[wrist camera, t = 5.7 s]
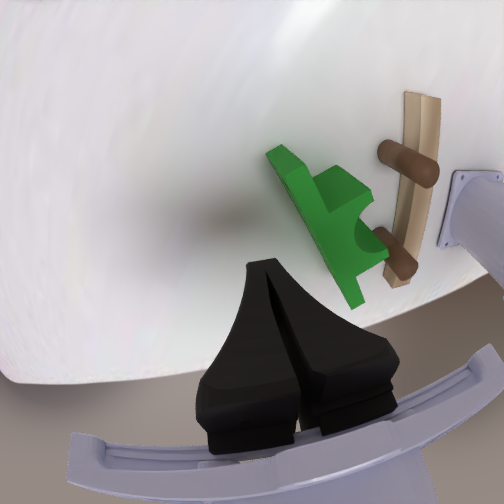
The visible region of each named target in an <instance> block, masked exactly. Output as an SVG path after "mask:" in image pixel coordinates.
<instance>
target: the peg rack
mask: <svg viewBox="0 0 504 504" xmlns="http://www.w3.org/2000/svg"><path fill="white" fill-rule="evenodd" d="M440 120H441V99H440V98H435V97H431V96H426V95H421V94H415V93H409V92H405V116H404V141H403V145H401V144H399V143H397V142H394V141H392V140H385V141H383V142H382V143H381V144H380V146H379V148H378V158H379V160H380V161H381V162H382V163H384V164H386V165H387V166H389V167H391V168H392V169H394V170H396V171H398V172H399V173H401V177H400V186H399V194H398V201H397V208H396V214H395V220H394V226H393V232H392V235H391V234H390V233H389V232H388V231H387V230H386V229H385V228H384V227H379V228H376V229H375V230H374V231H373V233H374V234H375V235H376V236H377V237H378V239H379V240H380V241H381V242H382V243H383V244H384V245H385V246H386V247H387V249H388V253H389V257H388V258H386V259H384V261H385V262H386V265H385V270H384V274H383V277H384V278H385V279H386V281H387V282H388V284H389V285H390V286H391V288H392V289H393V288H397V287H400V286H403V285H407V284H409V283H410V280H411V277H412V276H413V275H414V274H415V273H416V271H417V269H418V262H417V257H418V254H419V250H420V246H421V243H422V239H423V235H424V231H425V226H426V222H427V217H428V213H429V208H430V203H431V197H432V192H433V186H434V185H435V183H436V182H437V180H438V178H439V173H440V169H439V165H438V163H437V157H438V147H439V136H440Z"/></svg>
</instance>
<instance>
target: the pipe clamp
mask: <svg viewBox="0 0 504 504" xmlns="http://www.w3.org/2000/svg"><path fill="white" fill-rule="evenodd" d="M266 155H267V157H268V158H269V160H270V162H271V164H272V165H273V167H274V169H275V170H276V172H277V174H278V176H279V177H280V179H281V181H282V182H283V184H284V186H285V188H286V189H287V191H288V193H289V195H290V197H291V198H292V200H293V202H294V204H295V206H296V207H297V209H298V211H299V213H300V215H301V217H302V218H303V220H304V222H305V224H306V226H307V228H308V230H309V232H310V233H311V235H312V237H313V239H314V241H315V243H316V245H317V247H318V249H319V251H320V253H321V255H322V257H323V259H324V261H325V263H326V265H327V267H328V269H329V271H330V273H331V274H332V276H333V278H334V280H335V281H336V283H337V285H338V287H339V288H340V290H341V292H342V294H343V296H344V297H345V299H346V301H347V303H348V305H349V306H350V308H351V310H353V309H354V308H356V307H358V306H360V305H361V304H363V303H365V301H364V298H363V295H362V292H361V290H360V287H359V284H358V282H357V279H356V276H358V275H359V274H361V273H363V272H365V271H366V270H368V269H370V268H371V267H373V266H375V265H376V264H378V263H379V262H381V261H383V260H384V259H386V258H388V257H389V253H388V249H387V247H386V246H385V245H384V244H383V243H382V242H381V241H380V240H379V239H378V237H377V236H376V235H375V234H374V233H373V232H372V231H371V230H370V229H369V228H368V227H367V226H366V225H365V224H364V223H363V221H362V220H361V219H360V218H359V215H360V214H361V212H362V211H363V210H364V209H365V207H367V206H368V205H369V204H370V203H371V202H373V201H374V199H373V196H372V193H371V190H370V189H369V188H368V187H367V186H365V185H364V184H363V183H361V182H360V181H359V180H357V179H356V178H355V177H353V176H352V175H351V174H349V173H348V172H346V171H345V170H344V169H342V168H341V167H339V166H338V165H335V166H333V167H331V168H330V169H328V170H326V171H324V172H322V173H321V174H319V175H317V176H315V177H313V178H312V177H311V175H310V173H309V171H308V169H307V167H306V165H305V164H304V163H303V162H302V161H301V160H300V159H299V158H297V157H296V156H295V155H294V154H293V153H291V152H290V151H289V150H288V149H287V148H285V147H284V146H283V145H282V144H281V145H280V146H278V147H276V148H274V149H273V150H271V151H269V152H267V153H266Z"/></svg>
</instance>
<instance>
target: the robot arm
mask: <svg viewBox="0 0 504 504" xmlns="http://www.w3.org/2000/svg"><path fill="white" fill-rule="evenodd" d="M503 177H504V175H503V173H502V172H495V171H456V172H455V173H454V176H453V181H452V187H451V192H450V197H449V202H448V207H447V211H446V215H445V219H444V223H443V227H442V231H441V235H440V238H439V242H438V247H439V248H440V249H445V248H449V247H452V246H456V245H459V244H460V245H461V246H462V247H463V248H464V249H466V250H467V251H468V252H469V253H470V254H471V255H472V256H473V257H474V258H475V259H476V260H477V261H478V262H479V263H480V264H481V265H482V266H483V267H484V268H485V269H486V270H487V271H488V272H489V273H490V274H491V275H492V276H493V278H494V279H495V280H496V281H497V282H498V283H499V284H500V285H501V286H502V288H503V289H504V183H503ZM246 269H247V273H246V282H245V288H244V292H243V297H242V300H241V304H240V307H239V310H238V313H237V316H236V319H235V321H234V324H233V326H232V328H231V331H230V333H229V335H228V337H227V339H226V341H225V343H224V345H223V346H222V348H221V350H220V352H219V353H218V355H217V357H216V358H215V360H214V361H213V363H212V364H211V366H210V367H209V368H208V370H207V371H206V372H205V374H204V375H203V377H202V378H201V379H200V383H199V387H198V391H197V396H196V420H197V422H198V423H199V424H200V425H201V426H202V428H203V429H204V430H205V431H206V432H207V435H208V445H202V446H141V445H140V446H139V445H127V444H116V443H108V442H105V441H104V440H102V439H101V438H99V437H96V436H93V435H88V434H82V433H76V432H72V433H71V439H70V446H69V456H68V465H67V482H69V483H72V484H74V485H78V486H81V487H84V488H87V489H90V490H93V491H97V492H101V493H105V494H109V495H114V496H119V497H125V498H131V499H137V500H144V501H152V502H163V503H176V504H440V503H439V500H438V497H437V494H436V491H435V488H434V485H433V482H432V479H431V476H430V473H429V471H428V468H427V465H426V462H425V460H424V457H423V455H422V452H421V448H423V447H425V446H427V445H429V444H430V443H432V442H434V441H435V440H437V439H439V438H440V437H442V436H444V435H445V434H447V433H448V432H450V431H451V430H453V429H454V428H456V427H457V426H459V425H460V424H462V423H463V422H465V421H466V420H467V419H468V418H470V417H471V416H473V415H474V414H475V413H477V412H478V411H479V410H481V409H482V408H483V407H485V406H486V405H487V404H488V403H489V402H491V401H492V400H493V399H494V398H495V397H496V396H497V395H498V394H499V393H501V392H502V391H503V390H504V364H503V362H502V360H501V359H500V357H499V356H498V354H497V352H496V351H495V349H494V348H493V346H492V345H491V344H488V345H486V346H485V347H483V348H482V349H480V350H479V351H477V352H476V353H475V354H474V355H473V356H472V357H471V358H470V360H469V361H468V363H467V364H465V365H464V366H462V367H460V368H459V369H457V370H456V371H454V372H452V373H450V374H448V375H447V376H445V377H443V378H441V379H440V380H437V381H436V382H434V383H432V384H430V385H428V386H426V387H424V388H422V389H420V390H418V391H416V392H414V393H411V394H410V395H407V396H405V397H403V398H400V399H398V400H395V398H394V395H393V393H392V390H393V385H392V383H391V381H390V380H391V378H392V377H393V375H394V373H395V372H396V370H397V368H398V365H399V363H400V361H399V358H398V356H397V354H396V352H395V350H394V349H393V347H392V346H391V345H390V343H389V342H388V340H387V339H386V338H383V337H380V336H378V335H375V334H373V333H370V332H368V331H366V330H364V329H361V328H359V327H357V326H355V325H353V324H351V323H350V322H348V321H346V320H345V319H343V318H341V317H339V316H338V315H336V314H335V313H333V312H332V311H330V310H329V309H327V308H326V307H325V306H323V305H322V304H321V303H319V302H318V301H317V300H316V299H315V298H313V297H312V296H311V295H310V294H309V293H308V292H307V291H305V290H304V289H303V288H302V287H301V286H300V285H299V284H298V283H297V282H296V281H295V280H294V279H293V278H292V277H291V275H290V274H289V273H288V272H287V271H286V270H285V269H284V267H283V266H282V265H281V264H280V262H279V261H278V260H277V259H276V258H272V259H266V260H260V261H254V262H248V263H247V264H246ZM503 299H504V297H503ZM298 418H299V423H300V428H301V432H296V433H295V430H296V422H297V420H298ZM272 456H274V457H272ZM266 457H270V458H266ZM259 458H265V459H261V460H256V461H251V462H246V463H240V462H238V461H245V460H253V459H259Z"/></svg>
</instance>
